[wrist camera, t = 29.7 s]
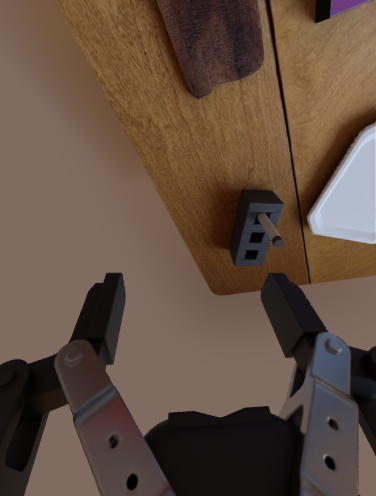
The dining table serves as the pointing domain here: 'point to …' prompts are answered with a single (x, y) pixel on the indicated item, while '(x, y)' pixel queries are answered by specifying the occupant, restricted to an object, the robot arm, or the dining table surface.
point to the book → (334, 7)
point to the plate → (350, 194)
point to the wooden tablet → (214, 40)
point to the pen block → (253, 227)
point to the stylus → (270, 229)
